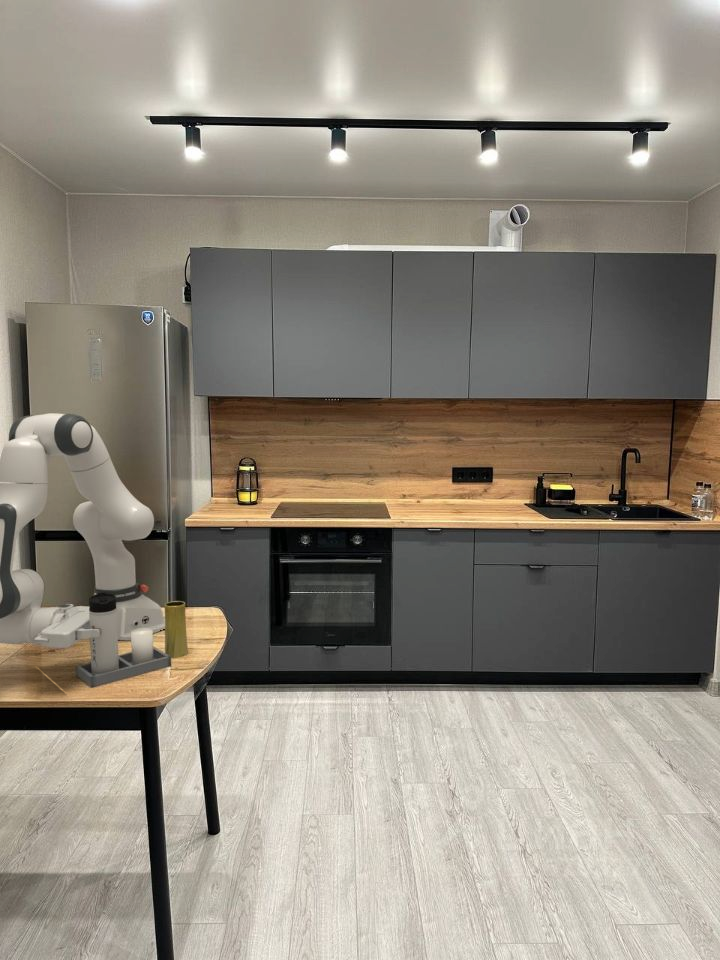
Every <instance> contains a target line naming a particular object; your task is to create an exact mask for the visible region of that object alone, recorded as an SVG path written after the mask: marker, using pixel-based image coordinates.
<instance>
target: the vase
mask: <svg viewBox="0 0 720 960" xmlns="http://www.w3.org/2000/svg"><path fill="white" fill-rule="evenodd" d="M186 616H187V615H186V602H185V601H181V600H173V601H171V600H170V601H168V602H166V603H165V604H164V617H165V630H164V653H166V654H167V655H169V656H171V659H178V658H183V657H186V656H187V655H189V650H188V633H187V623H186V622H187V620H186V619H187V618H186Z"/></svg>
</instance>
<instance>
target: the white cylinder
mask: <svg viewBox="0 0 720 960" xmlns="http://www.w3.org/2000/svg"><path fill="white" fill-rule="evenodd" d="M130 641H131V652H132V665H137V664H140V663H144V662H148V661H152V660H154V656H153V646H154V633H153V630H152V629H151V628H138V629H135V630H132V631H131V640H130Z"/></svg>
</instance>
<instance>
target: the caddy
mask: <svg viewBox="0 0 720 960" xmlns="http://www.w3.org/2000/svg"><path fill="white" fill-rule="evenodd" d="M153 656H154V660H152V661H148V662H144V663H140V664H137V665H132V651H130V652H126V653H121V654H118V657H119V669H118V670H114V671H110V672H106V673H103V674H99V675H95V676H93V675H92V670H91V661H90V662H86V663H82V664H77V665H75V674H76V675H75V676H76V677H77V678H79V680H81V681H82V682H84V683H85V684H86V685H87V686H89V687H90V688H91V689H92V688H97V687H100V686H101V687H102V686H104V685H107V684H108V685H109V684H110V683H114V682H117V681H118V682H119V681H123V680H126V679H129V678H130V679H131V678H133V677H137V676H141V675H143V674H146V673H147V674H148V673H151V672H155V671H158V670H162V669H166V668H170V667H172V658H171V656H169V655H167V654H166V653H165V651H162V650H160V649H158V648H157V647H156V646H154V645H153Z"/></svg>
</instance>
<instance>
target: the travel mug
mask: <svg viewBox="0 0 720 960" xmlns="http://www.w3.org/2000/svg"><path fill="white" fill-rule="evenodd" d="M88 607H89V622H90V629H93V628H100V629H101V635H100V636H99V637H91V638H89V640H90V642H89V643H90V644H89V645H90V662H91V670H92V675H93V676H95V675H99V674H103V673H106V672H110V671H114V670H118V669H119V657H118V655H119V640H118V630H117V607H116V596H115V595H113V594H109V593H105V592H101V593H98V594H96V595H94V594H93V595H92V596H90V597H89V598H88Z"/></svg>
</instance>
